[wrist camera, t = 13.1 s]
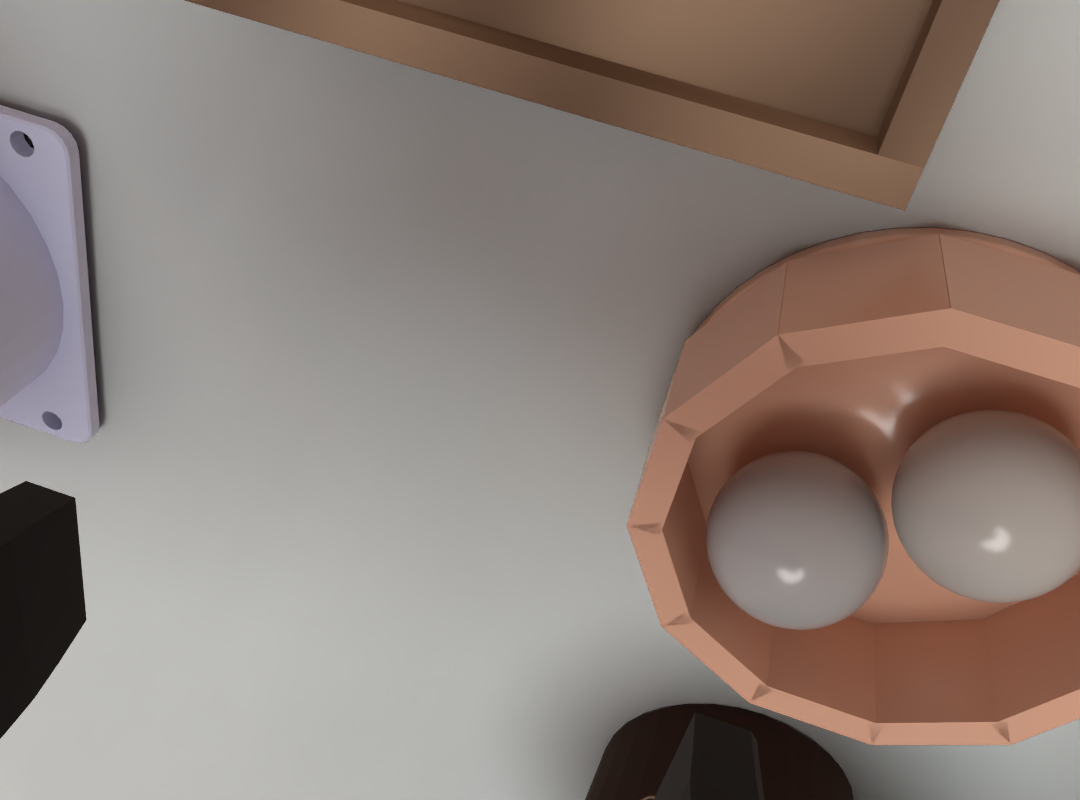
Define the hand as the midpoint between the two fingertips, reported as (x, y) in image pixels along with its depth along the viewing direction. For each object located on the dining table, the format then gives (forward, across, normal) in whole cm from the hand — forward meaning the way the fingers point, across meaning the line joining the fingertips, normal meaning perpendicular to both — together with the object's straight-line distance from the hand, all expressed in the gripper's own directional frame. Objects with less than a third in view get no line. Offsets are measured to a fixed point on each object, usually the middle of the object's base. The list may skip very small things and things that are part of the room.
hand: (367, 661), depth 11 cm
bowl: (+10, -7, +1) cm, 12 cm away
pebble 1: (+9, -6, +2) cm, 11 cm away
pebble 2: (+9, -8, 0) cm, 12 cm away
